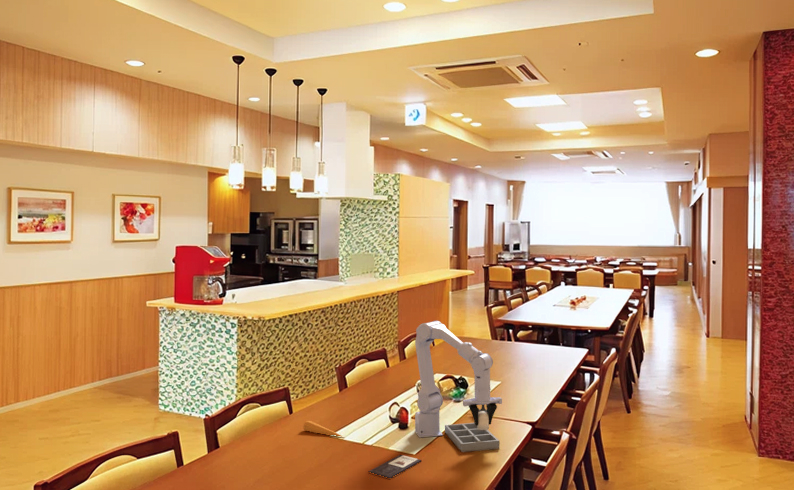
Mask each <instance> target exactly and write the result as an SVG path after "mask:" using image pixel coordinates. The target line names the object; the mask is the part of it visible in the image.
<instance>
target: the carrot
mask: <svg viewBox="0 0 794 490" xmlns="http://www.w3.org/2000/svg"><path fill="white" fill-rule="evenodd" d="M302 429H303V431H305V432H306V431H310V432H309V433H311V432H316V433H315V434H317V433H322V434H329V435H336V436H342V435H341V434H339V433H337V432H335V431H334V430H331V429H329V428H327V427H325V426H322V425H321V424H319V423H316V422H314V421H312V420H306V421H305V422H304V423H303V428H302ZM322 434H321V435H322Z"/></svg>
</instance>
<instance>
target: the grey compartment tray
mask: <svg viewBox="0 0 794 490" xmlns="http://www.w3.org/2000/svg"><path fill="white" fill-rule="evenodd" d="M444 433H445V434H446V436H448V439H450V441H451V442H453V444H454V445H455V446H456V448H457V449H458V450H459V451H460V452H461V453H467V452H469V453H470V452H478V451H489V450H490V451H491V450H500V439H498V438H497V437H496V436H495V435H494V434H493V433H492V432H491V431H490V430H489V429H488V430H479V429H477V426H476V425H475V424H474V422H469V423H468V422H467V423H456V424H455V423H454V424H444Z"/></svg>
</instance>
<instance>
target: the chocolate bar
mask: <svg viewBox="0 0 794 490" xmlns="http://www.w3.org/2000/svg"><path fill="white" fill-rule="evenodd" d="M419 462H420V463H421V462H422V459H420V458H419V459H418V458H416V457H411V456H408V455H404V454H398V455H397V456H395V457H392V458H391V459H389V460H387V461H385V462H384V463H381V464H379V465H378V466H376V467H373V469H370V470H368V472H371V473H374V474H377V475H381V476H384V477H387V478H392V477H393V476H395V475H397V474H399V473H401V472H402V473H403V471H404V472H406V471H407V470H406V469H408V468H409V469H411V468H413V467H414V466H416V465H418V464H420V463H419ZM417 463H418V464H417ZM412 466H413V467H412ZM410 467H411V468H410ZM409 469H408V470H409ZM405 470H406V471H405ZM402 473H401V474H402ZM377 475H376V476H377ZM399 475H400V474H399ZM397 476H398V475H397ZM395 477H396V476H395ZM387 478H386V479H387ZM392 479H393V478H392Z"/></svg>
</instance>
